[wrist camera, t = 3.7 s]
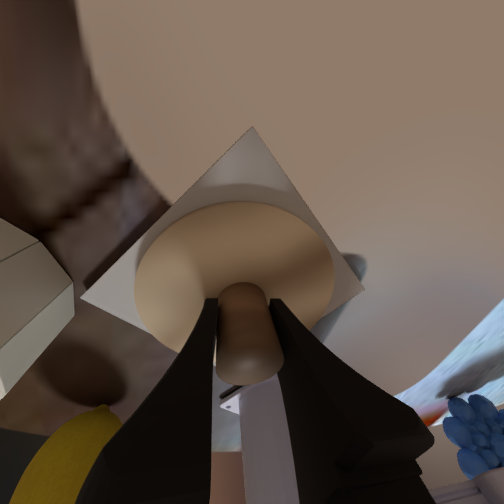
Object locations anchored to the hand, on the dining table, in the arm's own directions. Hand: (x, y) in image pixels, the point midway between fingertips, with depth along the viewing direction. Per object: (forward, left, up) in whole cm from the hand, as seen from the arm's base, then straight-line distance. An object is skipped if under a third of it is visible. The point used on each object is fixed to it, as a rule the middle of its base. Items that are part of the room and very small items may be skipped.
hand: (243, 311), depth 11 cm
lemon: (-1, +17, -2) cm, 17 cm away
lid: (0, 0, -2) cm, 2 cm away
